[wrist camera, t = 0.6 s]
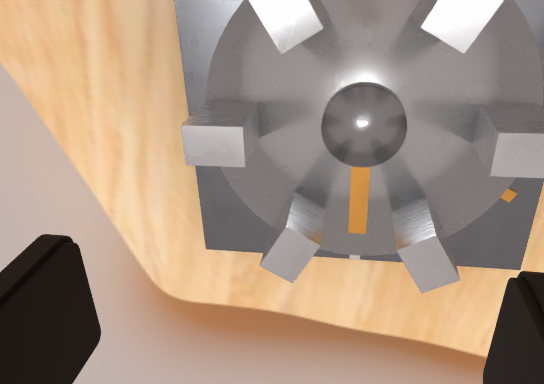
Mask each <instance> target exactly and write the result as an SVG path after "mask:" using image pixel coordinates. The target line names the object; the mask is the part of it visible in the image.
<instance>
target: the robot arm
mask: <svg viewBox="0 0 544 384" xmlns="http://www.w3.org/2000/svg"><path fill="white" fill-rule="evenodd" d="M100 336H101V329H100V324H99V321H98V317H97V313H96V309H95V306H94V302H93V298H92V294H91V290H90V286H89V283H88V279H87V275H86V271H85V268H84V264H83V260H82V256H81V252H80V248H79V246H78V245H77V244H76V243H73V241H72V239H71V238H70V237H68V236H62V235H49V234H44V235H41V236H40V237H38V238H37V239H36V240H35V241H34V242H33V243H32V244H30V245H29V246H28V247H27V248H26V249H25V250H24V251H23V252H22V253H21V254H20V255H18V256H17V257H16V258H15V259H14V260H13V261H12V262H11V263H10V264H9V265H8V266H7V267H6V268H4V269H3V270H2V271H1V272H0V384H72V383H73V382H74V380H75V379H76V377H77V376H78V374H79V373H80V371H81V369H82V368H83V366H84V365H85V363H86V362H87V360H88V358H89V357H90V355H91V354H92V353H93V351H94V350H95V348H96V346H97V345H98V343H99V340H100ZM483 384H544V273H541V272H528V271H522V272H520V274H519V275H518V277H517V278H510V279H509V280H508V283H507V286H506V290H505V294H504V297H503V301H502V305H501V309H500V312H499V316H498V320H497V323H496V327H495V331H494V334H493V338H492V342H491V346H490V349H489V353H488V357H487V360H486V364H485V368H484V372H483Z"/></svg>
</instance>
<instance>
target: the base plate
mask: <svg viewBox="0 0 544 384" xmlns="http://www.w3.org/2000/svg"><path fill="white" fill-rule="evenodd" d="M174 1H175V9H176V16H177V24H178V32H179V40H180V48H181V56H182V64H183V72H184V80H185V87H186V95H187V103H188V111H189V116H190V115H191V114H192V113H193V112H194V111H195V110H196V109H197V108H198V107H199V106H200V105H201V104H202V103H203V102H204V101H205V98H206V87H207V78H208V73H209V69H210V65H211V60H212V57H213V54H214V52H215V49H216V46H217V44H218V41H219V38H220V36H221V35H222V33H223V31H224V29H225V27H226V25H227V23H228V21H229V20H230V18H231V17H232V15H233V14H234V13H235V11H236V10H237V8H238V7H239V6H240V4H241V3H242V2H243V0H174ZM514 1H515V3H516V4H517V6H518V7H519V9H520V10H521V11H522V13H523V14H524V16H525V18H526V20H527V23H528V25H529V27H530V29H531V31H532V33H533V35H534V38H535V41H536V45H537V48H538V52H539V55H540V58H541V66H542V74H543V106H544V0H514ZM195 166H196V174H197V182H198V190H199V198H200V206H201V214H202V222H203V229H204V237H205V245H206V249H212V250H227V251H242V252H257V253H264V250H265V246H266V243H267V240H268V237H269V233H270V230H271V226H270V225H268V224H267V223H266V222H265V221H263V220H262V219H261V218H260V217H258V216H257V215H256V214H255V213H254V212H253V211H252V210H251V209H250V208H249V207H248V206H247V205H246V204H245V203H244V202H243V201H242V200H241V198H240V197H239V196H238V195H237V193H236V192H235V191H234V190H233V188H232V187H231V185H230V184H229V182H228V180H227V179H226V177H225V175H224V174H223V172H222V170H221V168H220V166H197V165H195ZM543 182H544V178H525V177H516V178H515V179H514V181H513V183H512V184H511V185H510V186H509V188H508V189H507V190H506V191H505V192H504V194H503V195H502V196H501V197H500V198H499V199H498V201H496V202H495V203H494V204H493V205H492V206H491V207H490V208H489V209H488V210H487V211H486V212H485V213H484V214H482V215H481V216H480V217H478V218H477V219H476V220H474V221H473V222H472V223H470V224H469V225H467V226H466V227H464V228H463V229H461V230H459V231H457V232H456V233H454V234H452V235H450V236H448V240H449V243H450V246H451V250H452V253H453V257H454V260H455V263H456V266H468V267H483V268H498V269H513V270H520V269H521V265H522V261H523V257H524V254H525V250H526V246H527V242H528V239H529V235H530V231H531V227H532V224H533V220H534V216H535V212H536V208H537V205H538V201H539V197H540V193H541V190H542V186H543ZM313 256H317V257H332V258H347V259H355V260H360V259H362V260H377V261H393V262H403V261H402V259H401V257H400V256H399V254H398V253H395V254H386V255H376V256H365V255H348V254H340V253H334V252H330V251H325V250H321V249H318V250H317V251H316V253H315V254H314V255H313Z"/></svg>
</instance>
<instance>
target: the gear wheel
mask: <svg viewBox="0 0 544 384" xmlns="http://www.w3.org/2000/svg"><path fill="white" fill-rule="evenodd" d="M181 132H182V139H183V146H184V153H185V161H186V165H197V166H220V168H221V170H222V172H223V174H224V175H225V177H226V179H227V180H228V182H229V184H230V185H231V187H232V188H233V190H234V191H235V192H236V193H237V195H238V196H239V197H240V198H241V200H242V201H243V202H244V203H245V204H246V205H247V206H248V207H249V208H250V209H251V210H252V211H253V212H254V213H255V214H256V215H257V216H258V217H260V218H261V219H262V220H263V221H265V222H266V223H267V224H268V225H270V226H271V230H270V233H269V237H268V240H267V243H266V246H265V250H264V253H263V256H262V260H261V263H260V266H261V267H263V268H264V269H266V270H268V271H270V272H272V273H274V274H276V275H278V276H280V277H281V278H283V279H285V280H287V281H289V282H291V283H293V282H294V281H295V279H296V278H297V277H298V275H299V274H300V273H301V271H302V270H303V269H304V267H305V266H306V265H307V263H308V262H309V261H310V259H311V258H312V257H313V255H314V254H315V253H316V251H317V250H318V249H321V250H325V251H330V252H334V253H340V254H348V255H365V256H376V255H386V254H395V253H398V254H399V256H400V257H401V259H402V261H403V262H404V264H405V266H406V268H407V269H408V271H409V273H410V274H411V276H412V278H413V279H414V281H415V283H416V285H417V286H418V288H419V290H420V291H421V293H424V292H427V291H430V290H433V289H436V288H439V287H442V286H445V285H448V284H451V283H454V282H457V281H460V277H459V274H458V270H457V267H456V263H455V260H454V257H453V253H452V250H451V246H450V243H449V240H448V236H450V235H452V234H454V233H456V232H457V231H459V230H461V229H463V228H464V227H466V226H467V225H469V224H470V223H472V222H473V221H474V220H476V219H477V218H478V217H480V216H481V215H482V214H484V213H485V212H486V211H487V210H488V209H489V208H490V207H491V206H492V205H493V204H494V203H495V202H496V201H498V199H499V198H500V197H501V196H502V195H503V194H504V192H505V191H506V190H507V189H508V188H509V186H510V185H511V184H512V183H513V181H514V179H515V178H516V177H525V178H544V106H543V74H542V66H541V58H540V55H539V52H538V48H537V45H536V41H535V38H534V35H533V33H532V31H531V29H530V27H529V25H528V23H527V20H526V18H525V16H524V14H523V13H522V11H521V10H520V9H519V7H518V6H517V4H516V3H515V1H514V0H243V2H242V3H241V4H240V6H239V7H238V8H237V10H236V11H235V13H234V14H233V15H232V17H231V18H230V20H229V21H228V23H227V25H226V27H225V29H224V31H223V33H222V35H221V36H220V38H219V41H218V44H217V46H216V49H215V52H214V54H213V57H212V60H211V65H210V69H209V73H208V78H207V87H206V98H205V101H204V102H203V103H202V104H201V105H200V106H199V107H198V108H197V109H196V110H195V111H194V112H193V113H192V114H191V115H190V116H189V117H188V118H187V120H186V121H185V122H184V123H183V124H182V125H181Z"/></svg>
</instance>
